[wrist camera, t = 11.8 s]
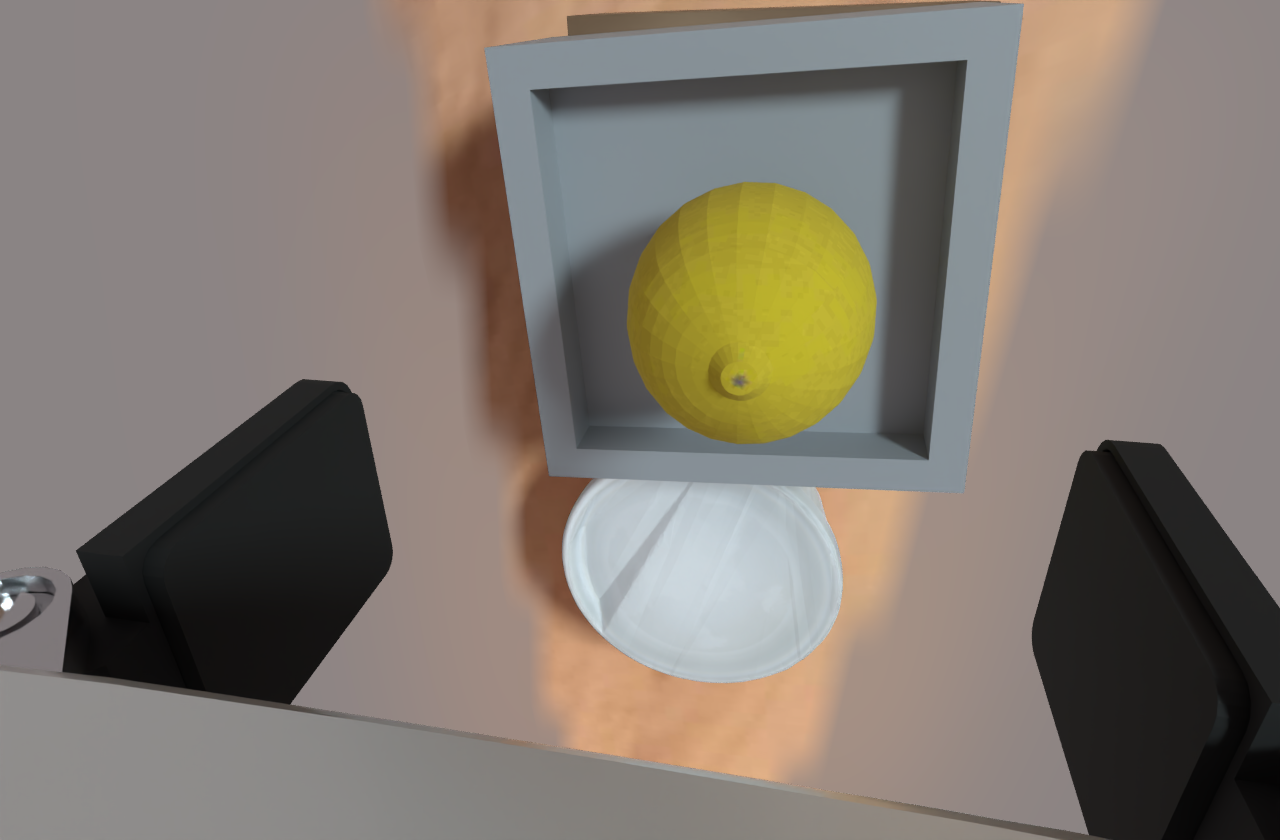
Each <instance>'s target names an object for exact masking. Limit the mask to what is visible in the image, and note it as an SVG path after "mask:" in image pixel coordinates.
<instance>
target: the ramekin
mask: <svg viewBox="0 0 1280 840" xmlns="http://www.w3.org/2000/svg"><path fill="white" fill-rule="evenodd" d="M562 560H563V567H564V572H565V577H566V580H567V584H568V587H569V589H570V591H571V594H572V596H573V598H574V600H575V602H576V604H577V606H578V608H579V609H580V611H581V612H582V614H583V615H584V617H585V618H586V619H587V620H588V622H589V623H590V624H591V625H592V626H593V628H594V629H595V630H596V631H597V632H598V633H599V634H600V635H601V636H602V637H603V638H605V640H607V641H608V642H609V643H610V644H611V645H613V646H614V647H616V648H617V649H618V650H619V651H621V652H622V653H624V654H625V655H627V656H628V657H630V658H632V659H634V660H635V661H637V662H639V663H641V664H643V665H645V666H647V667H649V668H652V669H654V670H657V671H659V672H662V673H665V674H668V675H671V676H675V677H678V678H682V679H688V680H692V681H700V682H711V683H734V682H745V681H750V680H755V679H760V678H763V677H767V676H770V675H773V674H776V673H779V672H781V671H784V670H787V669H788V668H790V667H792V666H793V665H794V664H796V663H798V662H799V661H801V660H803V659H804V658H805V657H806V656H808V655H809V654H810V653H811V652H812V651H813V650H814V649H815V648H816V647H817V646H818V645H819V644H820V643H821V642H822V641H823V640H824V638H825V637H826V636H827V634H828V633H829V631H830V630H831V628H832V626H833V624H834V622H835V619H836V617H837V614H838V611H839V608H840V603H841V597H842V589H843V574H842V563H841V557H840V552H839V548H838V545H837V542H836V538H835V536H834V534H833V532H832V529H831V527H830V525H829V523H828V522H827V520H826V516H825V512H824V509H823V505H822V501H821V498H820V495H819V493H818V491H817V490H816V487H799V486H775V485H750V484H726V483H702V482H677V481H653V480H629V479H605V478H593V479H592V480H591V481H590V483H589V484H588V485H587V486H586V487H585V489H584V490H583V491H582V493H581V494H580V496H579V498H578V499H577V501H576V503H575V505H574V506H573V508H572V510H571V513H570V515H569V518H568V520H567V523H566V527H565V530H564V534H563V541H562Z"/></svg>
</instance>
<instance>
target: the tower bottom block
mask: <svg viewBox="0 0 1280 840" xmlns="http://www.w3.org/2000/svg"><path fill="white" fill-rule="evenodd" d="M972 2H997V3H1001V2H1000V1H974V0H973V1H944V2H914V3H885V4H856V5H827V6H797V7H768V8H739V9H709V10H680V11H651V12H621V13H599V14H587V15H575V16H567V25H568V36H574V35H586V34H598V33H610V32H622V31H634V30H646V29H658V28H670V27H682V26H694V25H706V24H718V23H731V22H743V21H755V20H767V19H779V18H791V17H803V16H815V15H827V14H839V13H851V12H863V11H875V10H887V9H899V8H911V7H923V6H935V5H947V4H960V3H972Z"/></svg>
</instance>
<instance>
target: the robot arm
mask: <svg viewBox="0 0 1280 840" xmlns="http://www.w3.org/2000/svg"><path fill="white" fill-rule="evenodd" d="M76 552H77V554H78V557H79V559H80V561H81V563H82V566H83V568H84V570H85V572H86V575H85V576H84V577H82V578H81V579H80V580H79V581H78V582H76V583H75V584H74V585H73V583H72V581H71V578H70V577H69V576H68V575H66V574H65V573H64V572H62V571H61V570H57V569H53V568H48V567H32V568H31V567H30V568H21V569H16V570H11V571H5V572H1V573H0V840H1280V608H1279V606H1278V605H1277V604H1276V602H1275V601H1274V600H1273V598H1272V597H1271V595H1270V594H1269V593H1268V591H1267V590H1266V588H1265V587H1264V586H1263V584H1262V583H1261V581H1260V580H1259V579H1258V577H1257V576H1256V575H1255V573H1254V572H1253V571H1252V569H1251V568H1250V566H1249V565H1248V564H1247V562H1246V561H1245V559H1244V558H1243V557H1242V555H1241V554H1240V552H1239V551H1238V550H1237V548H1236V547H1235V545H1234V544H1233V543H1232V541H1231V540H1230V539H1229V537H1228V536H1227V534H1226V533H1225V532H1224V530H1223V529H1222V527H1221V526H1220V524H1219V523H1218V522H1217V520H1216V519H1215V518H1214V516H1213V515H1212V513H1211V512H1210V511H1209V509H1208V508H1207V506H1206V505H1205V504H1204V502H1203V501H1202V499H1201V498H1200V497H1199V495H1198V494H1197V492H1196V491H1195V490H1194V488H1193V487H1192V486H1191V484H1190V483H1189V481H1188V480H1187V479H1186V477H1185V476H1184V474H1183V473H1182V471H1181V470H1180V469H1179V467H1178V466H1177V464H1176V463H1175V462H1174V460H1173V459H1172V458H1171V456H1170V455H1169V453H1168V452H1167V451H1166V449H1165V448H1164V447H1163V446H1162V445H1161V444H1153V443H1140V442H1127V441H1113V440H1105V441H1104V442H1102V443H1101V445H1100V446H1099V447H1098V449H1097V451H1085V452H1083V453H1082V455H1081V456H1080V459H1079V461H1078V464H1077V468H1076V471H1075V475H1074V479H1073V482H1072V486H1071V490H1070V493H1069V497H1068V500H1067V504H1066V507H1065V511H1064V514H1063V518H1062V521H1061V525H1060V529H1059V532H1058V536H1057V539H1056V543H1055V546H1054V550H1053V554H1052V557H1051V561H1050V564H1049V568H1048V572H1047V575H1046V579H1045V582H1044V586H1043V590H1042V593H1041V596H1040V600H1039V604H1038V607H1037V611H1036V614H1035V618H1034V622H1033V627H1032V646H1033V652H1034V656H1035V659H1036V662H1037V666H1038V669H1039V672H1040V676H1041V679H1042V682H1043V685H1044V689H1045V692H1046V695H1047V698H1048V702H1049V705H1050V708H1051V711H1052V715H1053V718H1054V721H1055V725H1056V728H1057V731H1058V734H1059V738H1060V741H1061V744H1062V748H1063V751H1064V754H1065V758H1066V761H1067V764H1068V767H1069V771H1070V774H1071V777H1072V781H1073V784H1074V787H1075V790H1076V793H1077V797H1078V800H1079V804H1080V807H1081V810H1082V813H1083V817H1084V820H1085V823H1086V827H1087V830H1088V833H1089V835H1085V834H1080V833H1075V832H1070V831H1065V830H1059V829H1053V828H1047V827H1041V826H1035V825H1029V824H1023V823H1017V822H1010V821H1004V820H998V819H993V818H987V817H981V816H976V815H971V814H965V813H959V812H954V811H948V810H943V809H937V808H930V807H925V806H919V805H913V804H907V803H901V802H894V801H888V800H883V799H877V798H870V797H864V796H858V795H852V794H846V793H840V792H834V791H828V790H822V789H816V788H810V787H804V786H798V785H792V784H786V783H780V782H774V781H768V780H762V779H755V778H749V777H743V776H737V775H731V774H725V773H719V772H713V771H707V770H701V769H695V768H689V767H683V766H677V765H670V764H664V763H658V762H652V761H645V760H639V759H633V758H627V757H620V756H614V755H608V754H602V753H596V752H589V751H583V750H577V749H571V748H564V747H558V746H551V745H546V744H539V743H533V742H527V741H520V740H514V739H508V738H502V737H495V736H489V735H483V734H476V733H470V732H464V731H457V730H451V729H445V728H438V727H431V726H426V725H419V724H412V723H407V722H400V721H393V720H387V719H380V718H374V717H368V716H361V715H355V714H348V713H342V712H335V711H328V710H322V709H315V708H309V707H302V706H296V705H290V704H291V702H292V701H293V700H294V698H295V697H296V695H297V694H298V693H299V692H300V690H301V689H302V688H303V686H304V685H305V683H306V682H307V681H308V679H309V678H310V677H311V675H312V674H313V673H314V671H315V670H316V669H317V667H318V666H319V665H320V663H321V662H322V660H323V659H324V658H325V656H326V655H327V654H328V652H329V651H330V650H331V648H332V647H333V646H334V644H335V643H336V642H337V640H338V639H339V638H340V636H341V635H342V633H343V632H344V631H345V629H346V628H347V627H348V625H349V624H350V623H351V621H352V620H353V618H354V617H355V616H356V615H357V613H358V612H359V610H360V609H361V608H362V606H363V605H364V604H365V602H366V601H367V599H368V598H369V597H370V596H371V594H372V593H373V592H374V590H375V589H376V588H377V586H378V585H379V583H380V582H381V581H382V579H383V578H384V577H385V575H386V574H387V572H388V570H389V568H390V565H391V562H392V555H393V550H392V543H391V538H390V533H389V528H388V524H387V519H386V514H385V509H384V505H383V500H382V495H381V490H380V485H379V481H378V476H377V472H376V467H375V462H374V457H373V452H372V447H371V443H370V438H369V433H368V428H367V423H366V419H365V414H364V409H363V405H362V402H361V399H360V398H359V397H358V395H357V394H355V393H352V392H351V390H350V389H349V387H348V386H347V385H346V384H344V383H343V382H333V381H320V380H305V379H302V380H300V381H298V382H297V383H295V384H294V385H293V386H291V387H290V388H289V389H287V390H286V391H285V392H283V393H282V394H281V395H279V396H278V397H277V398H276V399H274V400H273V401H272V402H270V403H269V404H268V405H266V406H265V407H264V408H262V409H261V410H260V411H258V412H257V413H256V414H255V415H253V416H252V417H251V418H249V419H248V420H247V421H245V422H244V423H243V424H241V425H240V426H239V427H238V428H236V429H235V430H234V431H232V432H231V433H230V434H229V435H227V436H226V437H224V438H223V439H222V440H221V441H219V442H218V443H216V444H215V445H214V446H213V447H211V448H210V449H209V450H208V451H206V452H205V453H204V454H202V455H201V456H200V457H198V458H197V459H196V460H194V461H193V462H192V463H190V464H189V465H188V466H186V467H185V468H184V469H182V470H181V471H180V472H178V473H177V474H176V475H175V476H173V477H172V478H171V479H169V480H168V481H167V482H165V483H164V484H163V485H162V486H160V487H159V488H157V489H156V490H155V491H154V492H152V493H151V494H150V495H148V496H147V497H146V498H145V499H143V500H142V501H140V502H139V503H138V504H136V505H135V506H134V507H133V508H131V509H130V510H129V511H127V512H126V513H125V514H123V515H122V516H121V517H119V518H118V519H117V520H115V521H114V522H113V523H112V524H110V525H109V526H108V527H107V528H105V529H104V530H102V531H101V532H100V533H98V534H97V535H96V536H95V537H93V538H92V539H91V540H89V541H88V542H87V543H85V544H84V545H83V546H81V547H80V548H79V549H77V550H76Z"/></svg>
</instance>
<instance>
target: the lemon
mask: <svg viewBox="0 0 1280 840" xmlns="http://www.w3.org/2000/svg"><path fill="white" fill-rule="evenodd" d="M876 305H877V298H876V292H875V287H874V282H873V277H872V272H871V267H870V264H869V261H868V259H867V257H866V255H865V253H864V251H863V249H862V247H861V245H860V243H859V241H858V239H857V237H856V235H855V234H854V232H853V231H852V230H851V229H850V228H849V227H848V226H847V225H846V224H845V223H844V222H843V220H842V219H841V218H840V217H839V216H838V215H837V214H836V213H835V212H834V211H833V210H832V209H831V208H830V207H828V206H827V205H825V204H823V203H822V202H820V201H819V200H817V199H815V198H814V197H812V196H811V195H809V194H807V193H806V192H803V191H800V190H797V189H793V188H790V187H787V186H784V185H780V184H777V183H762V182H741V183H737V184H732V185H728V186H723V187H719V188H714V189H712V190H710V191H708V192H706V193H704V194H702V195H700V196H698V197H696V198H694V199H692V200H690V201H689V202H687V203H685V204H684V205H683V206H681V207H680V208H679V209H678V210H677V211H676V212H675V213H674V214H672V215H671V216H670V217H669V218H668V219H667V220H666V221H665V222H664V223H662V224H661V225H660V227H659V228H658V229H657V231H656V232H655V234H654V235H653V237H652V238H651V240H650V242H649V243H648V245H647V246H646V248H645V249H644V251H643V252H642V254H641V256H640V258H639V261H638V264H637V267H636V270H635V273H634V276H633V279H632V282H631V285H630V288H629V296H628V311H627V331H628V336H629V341H630V346H631V351H632V356H633V360H634V363H635V366H636V368H637V370H638V372H639V374H640V376H641V378H642V380H643V382H644V384H645V387H646V389H647V390H648V391H649V392H650V394H651V395H652V396H653V397H654V398H655V400H656V401H657V402H658V403H659V404H660V406H661V407H662V408H663V409H664V411H665V412H666V413H667V414H669V415H670V416H671V417H673V418H674V419H675V420H677V421H678V422H679V423H681V424H682V425H684V426H685V427H686V428H688V429H690V430H692V431H694V432H697V433H699V434H701V435H703V436H706V437H708V438H710V439H714V440H719V441H724V442H729V443H734V444H764V443H768V442H772V441H776V440H780V439H784V438H788V437H791V436H793V435H795V434H797V433H799V432H801V431H803V430H805V429H807V428H809V427H811V426H813V425H815V424H816V423H818V422H819V421H820V420H822V419H823V418H824V417H825V416H826V415H827V414H828V413H830V412H831V411H832V410H833V409H834V408H835V407H836V406H838V405H839V404H840V403H841V401H842V400H843V399H844V397H845V396H846V394H847V393H848V391H849V390H850V389H851V387H852V386H853V384H854V383H855V381H856V380H857V378H858V377H859V375H860V374H861V372H862V369H863V366H864V364H865V361H866V358H867V355H868V353H869V350H870V347H871V345H872V342H873V338H874V332H875V319H876Z"/></svg>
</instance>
